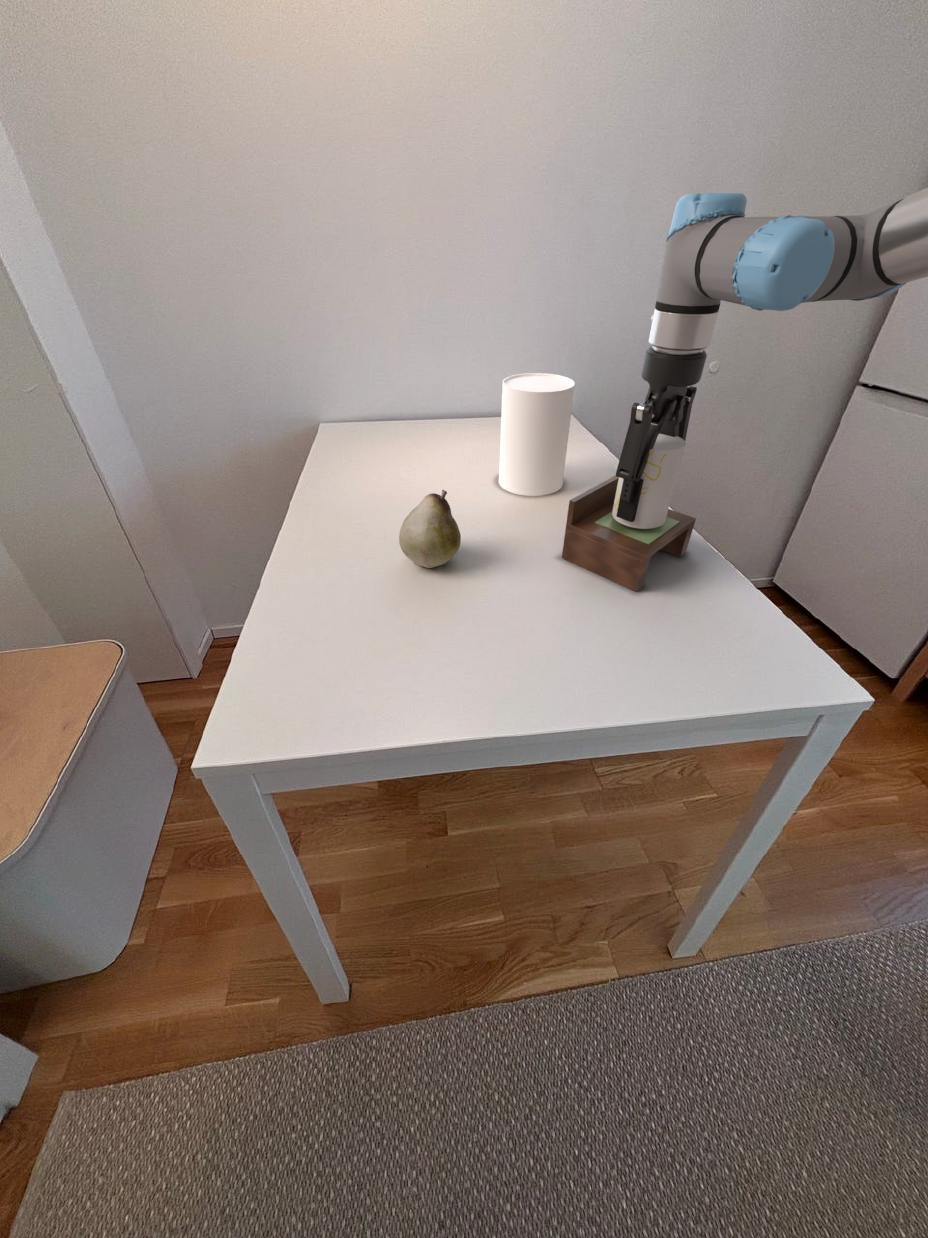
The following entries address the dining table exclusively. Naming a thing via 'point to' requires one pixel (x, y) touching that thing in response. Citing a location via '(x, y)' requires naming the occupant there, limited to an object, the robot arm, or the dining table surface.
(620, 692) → the dining table surface
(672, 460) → the white round cylinder
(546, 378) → the canister
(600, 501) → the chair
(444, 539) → the fruit
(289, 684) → the dining table surface
